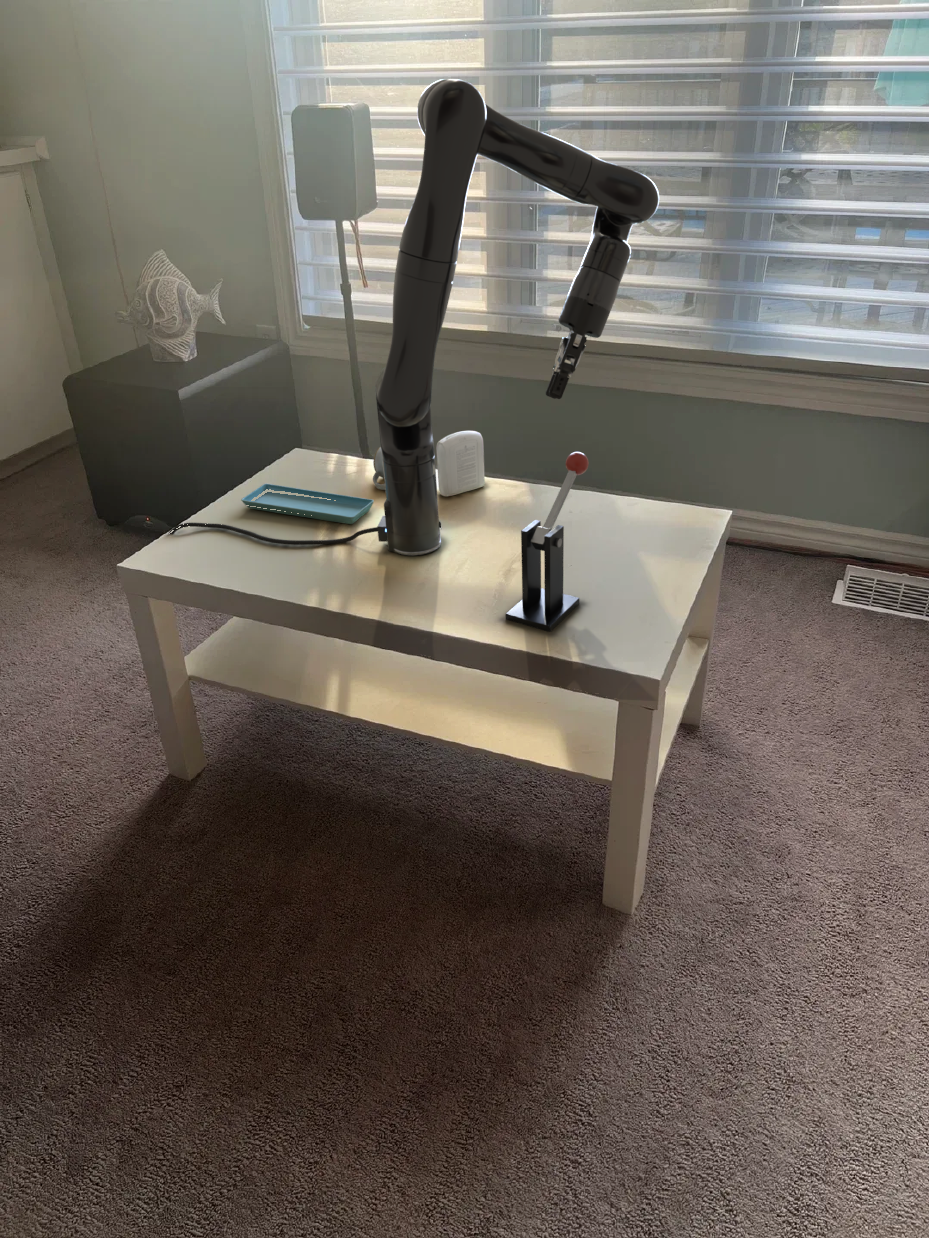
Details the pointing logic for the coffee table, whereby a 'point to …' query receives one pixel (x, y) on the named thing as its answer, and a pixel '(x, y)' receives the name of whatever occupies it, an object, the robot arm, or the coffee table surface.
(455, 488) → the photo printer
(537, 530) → the red knobbed lever
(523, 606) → the black lever stand
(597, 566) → the coffee table surface
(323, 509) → the shallow long dish
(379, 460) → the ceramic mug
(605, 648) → the coffee table surface
